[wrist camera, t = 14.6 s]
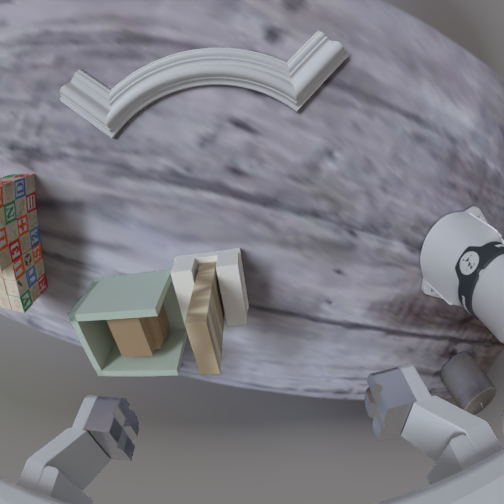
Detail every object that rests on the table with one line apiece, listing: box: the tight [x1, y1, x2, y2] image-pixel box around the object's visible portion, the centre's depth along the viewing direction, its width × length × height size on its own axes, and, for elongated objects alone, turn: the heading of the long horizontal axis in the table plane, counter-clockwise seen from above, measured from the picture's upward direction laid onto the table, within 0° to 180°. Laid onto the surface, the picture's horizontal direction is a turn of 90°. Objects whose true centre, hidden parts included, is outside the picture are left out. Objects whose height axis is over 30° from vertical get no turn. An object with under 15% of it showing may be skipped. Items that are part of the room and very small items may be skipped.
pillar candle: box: [440, 352, 496, 415], centre depth 54 cm, size 10×10×15 cm
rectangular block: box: [184, 261, 225, 375], centre depth 41 cm, size 2×8×15 cm, turn 7°
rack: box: [68, 269, 188, 376], centre depth 46 cm, size 14×12×11 cm
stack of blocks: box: [0, 174, 48, 313], centre depth 39 cm, size 21×6×12 cm, turn 174°
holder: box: [170, 248, 249, 326], centre depth 47 cm, size 10×10×6 cm
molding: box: [60, 31, 348, 138], centre depth 37 cm, size 42×12×3 cm, turn 96°
